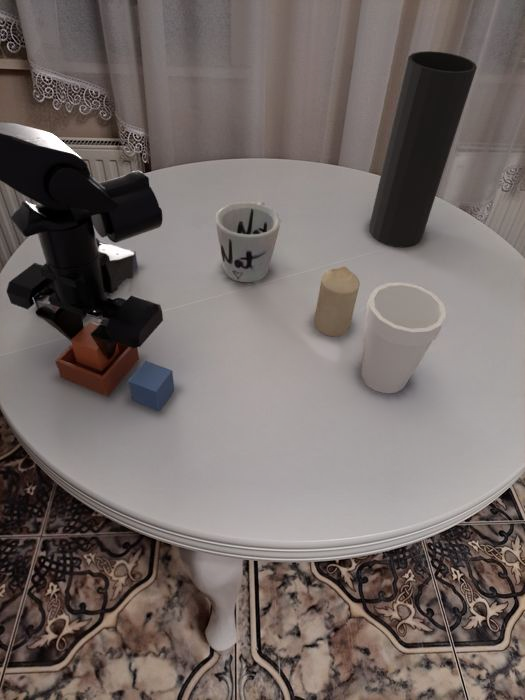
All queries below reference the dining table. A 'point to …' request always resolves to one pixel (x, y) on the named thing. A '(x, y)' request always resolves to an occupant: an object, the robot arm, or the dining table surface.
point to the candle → (336, 301)
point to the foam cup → (398, 333)
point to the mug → (247, 239)
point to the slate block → (151, 385)
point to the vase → (419, 144)
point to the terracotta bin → (95, 378)
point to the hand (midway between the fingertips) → (96, 351)
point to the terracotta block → (89, 349)
